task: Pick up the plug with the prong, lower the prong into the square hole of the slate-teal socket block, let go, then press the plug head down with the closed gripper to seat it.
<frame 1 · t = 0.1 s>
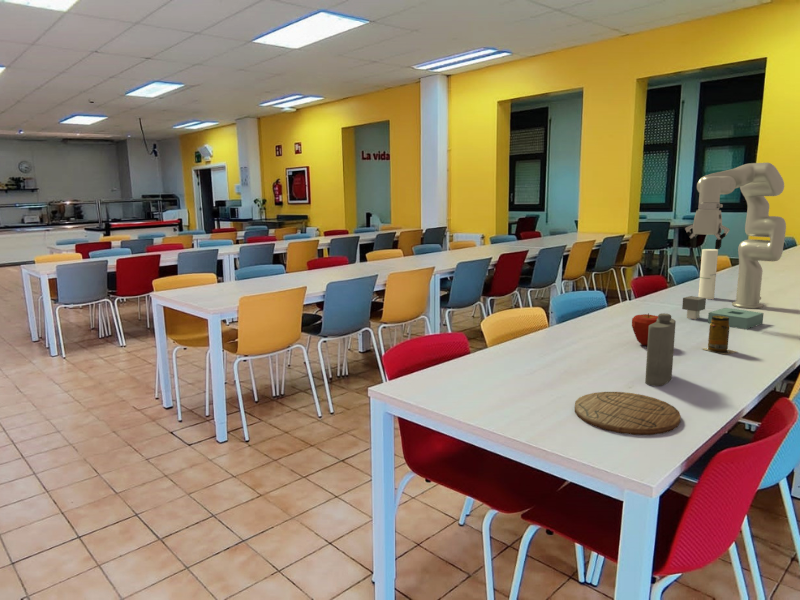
hand: (705, 248, 236), 31 cm above the table, tool pointing down, fingers open, 9 cm apart
cylindrical container: (706, 298, 289), on the table
socket: (734, 323, 235), on the table
flask: (659, 379, 169), on the table
apple: (646, 345, 206), on the table
trivet: (625, 416, 144), on the table
condiment: (719, 351, 197), on the table
plug: (692, 318, 246), on the table
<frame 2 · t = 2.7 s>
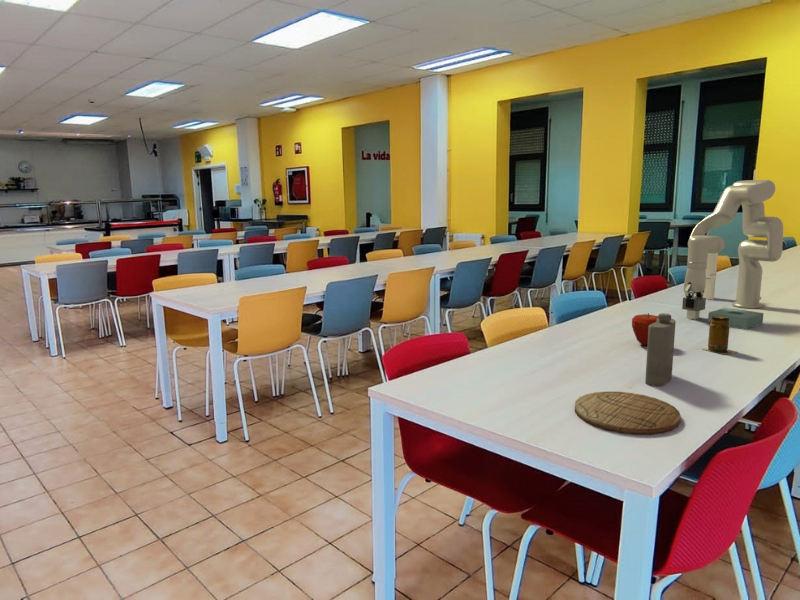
hand: (693, 306, 245), 5 cm above the table, tool pointing down, fingers closed on plug, 6 cm apart
plug: (692, 318, 246), on the table, touching gripper
everything else where it was.
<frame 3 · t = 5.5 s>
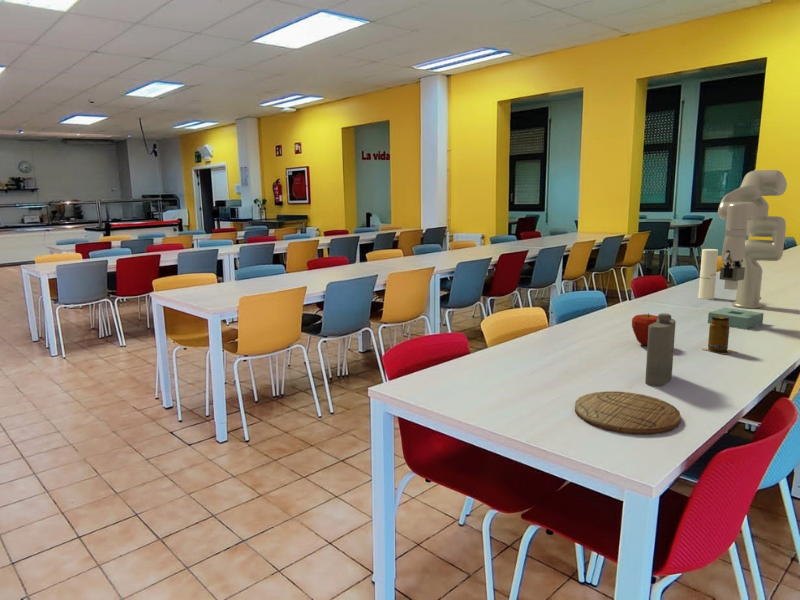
hand: (732, 276, 233), 20 cm above the table, tool pointing down, fingers closed on plug, 6 cm apart
plug: (730, 288, 234), point 14 cm above the table, touching gripper
everything else where it was.
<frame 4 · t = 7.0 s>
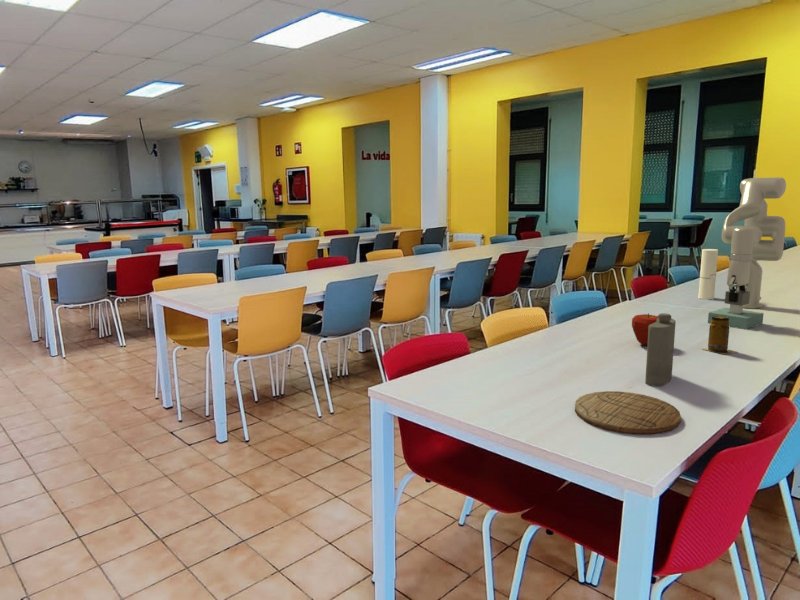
hand: (737, 300, 233), 10 cm above the table, tool pointing down, fingers closed on plug, 6 cm apart
plug: (735, 312, 234), point 4 cm above the table, touching gripper
everything else where it was.
when the fingers open (6 cm above the table, at t = 8.3 s): plug stays where it is, resting on socket.
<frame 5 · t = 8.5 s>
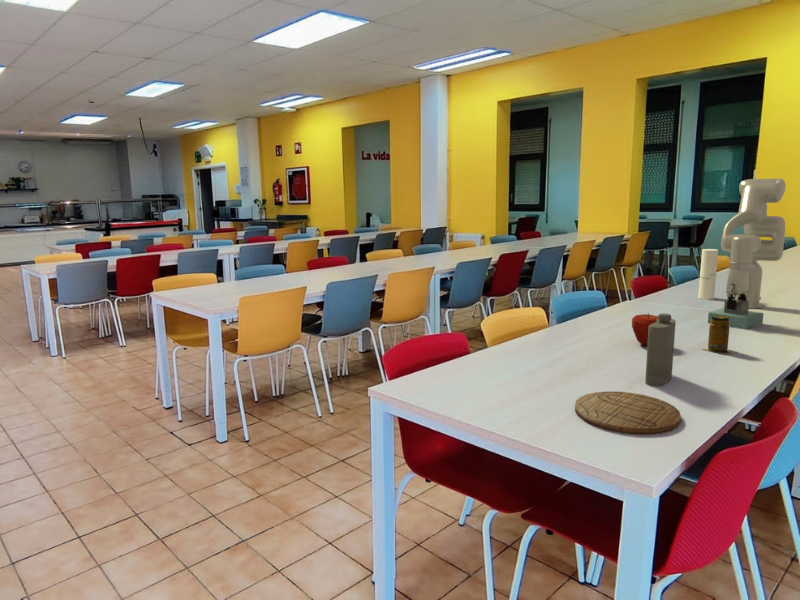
hand: (736, 307, 234), 7 cm above the table, tool pointing down, fingers open, 8 cm apart
plug: (735, 322, 235), resting on socket
everything else where it was.
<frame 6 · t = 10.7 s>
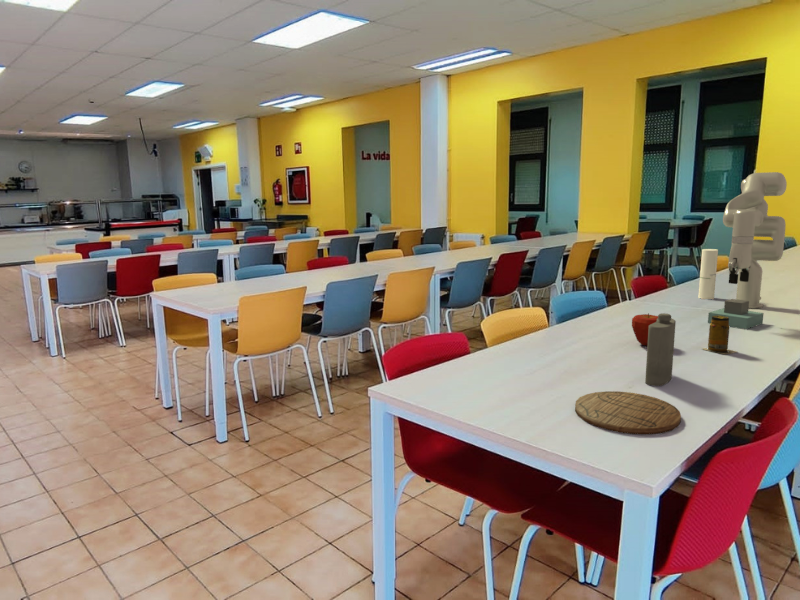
hand: (738, 282, 231), 17 cm above the table, tool pointing down, fingers open, 9 cm apart
nothing on the table moved.
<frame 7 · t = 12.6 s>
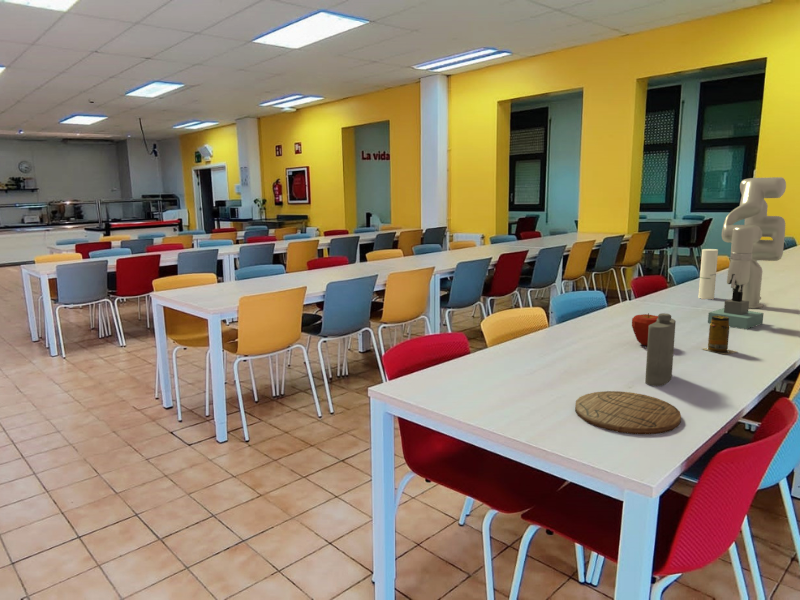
hand: (736, 300, 233), 10 cm above the table, tool pointing down, fingers closed
plug: (735, 322, 235), resting on socket, touching gripper
everything else where it was.
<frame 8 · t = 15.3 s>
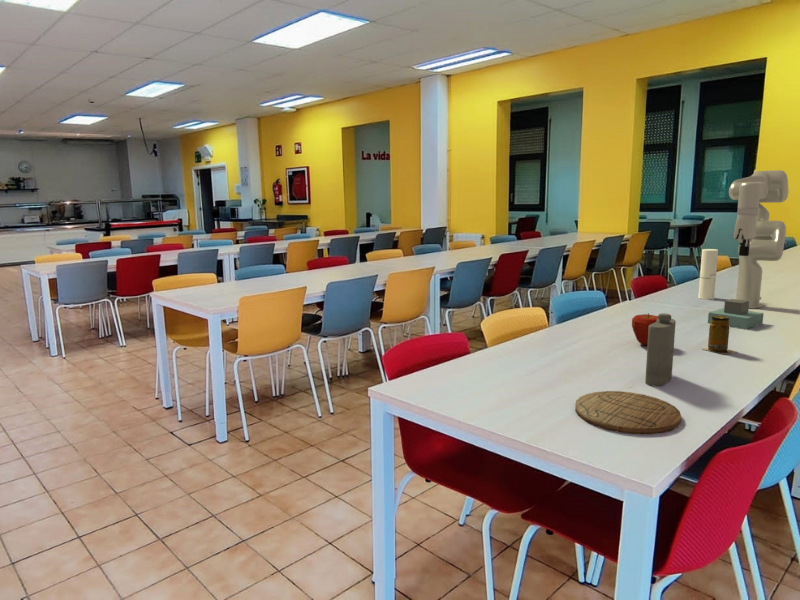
hand: (743, 255, 240), 27 cm above the table, tool pointing down, fingers closed
plug: (735, 322, 235), resting on socket
everything else where it was.
at the end: plug 0.0 cm off-centre on the socket, point 0.5 cm above the socket's base; plug tilted 0°; the gripper is holding nothing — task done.
